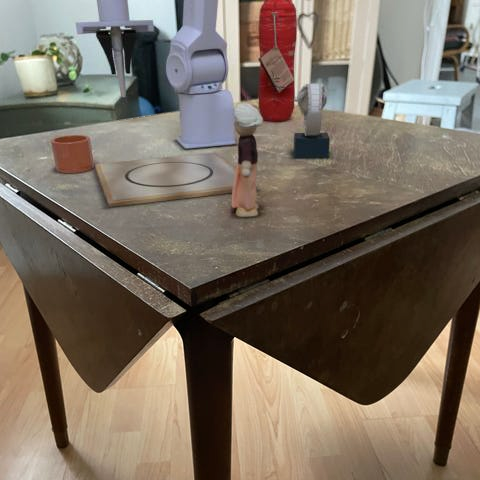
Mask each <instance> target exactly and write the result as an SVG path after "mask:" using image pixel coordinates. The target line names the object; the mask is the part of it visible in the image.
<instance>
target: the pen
mask: <svg viewBox="0 0 480 480" xmlns="http://www.w3.org/2000/svg"><path fill="white" fill-rule="evenodd" d="M121 29H122V27H110V28H109V30H110V33H109V34H110V37H111V39H112V50H113V58H114V63H115V69H116V75H117V80H118V81H117V82H118V87H119V92H120V96H121V98H126V97H127V88H126V87H127V86H126V76H125V74H126V72H125V60H124V49H123V34H122V33H123V32H122V30H121Z"/></svg>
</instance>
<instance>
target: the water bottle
mask: <svg viewBox="0 0 480 480" xmlns="http://www.w3.org/2000/svg"><path fill="white" fill-rule="evenodd" d="M296 8H297V7H296V6H295V4H294V2H293V0H264V1H263V3H262V5H261V7H260V9H259V15H258V46H259V49H258V50H259V57H258V58H257V60H258V62H259V80H258V111H259V113H260V115H261V117H262V118H263V121H267V122H275V123H276V122H277V123H278V122H285V121H288V120H290V119H291V118H292V115H293V113H294V109H295V97H296V90H295V89H296V88H295V55H296V47H297V46H296V44H297V38H298V37H297V32H298V30H297V29H298V19H297V9H296Z"/></svg>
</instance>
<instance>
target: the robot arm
mask: <svg viewBox="0 0 480 480" xmlns="http://www.w3.org/2000/svg"><path fill="white" fill-rule="evenodd" d="M96 6H97V12H98V14H97V15H98V21H81V22H80V21H79V22H78V21H76V22H75V26H76V27H75V28H76V33H77V35H84V34H85V35H89V34H95V37H96V39H97V41H98V43H99V44H100V46H101V49H102V50H103V53H104V54H105V57H106V60H107V63H108V66H109V68H110V73H111V75H112V76H113V75H117V70H116V65H115V60H114V52H113V49H112V39H111V37H110V29H107V28H111V27H120V28H121V30H122V34H123V56H124V73H125V74H126V75H127V74H129V75H130V74H131V65H132V58H133V52H134V48H135V45H136V42H137V38H138V33H140V32H141V33H143V32H155V28H154V27H155V26H154V19H140V20H139V19H138V20H131V19H130V11H129V9H130V8H129V1H128V0H96ZM218 7H219V0H183V10H182V26H181V27H180V29H179V30H178V31H177V32H176V33H175V35H173V37H172V38H171V40H170V48H169V49H170V50H169V54H168V55H167V57H166V63H165V74H166V77H167V80H168V82H169V83H170V86H171V87H172V88H173V89H174V93H177V94H178V95H177V96H178V97H177V98H178V107H179V108H178V109H179V124H180V136H176V137H175V140H176V141H177V143H179V145H180V146H181V147H183V148H184V149H187V150H189V149H199V148H208V147H210V148H211V147H219V146H221V147H222V146H230V145H236V144H237V141H236V139H235V138H236V137H235V127H234V123H235V118H234V110H235V105H234V97H233V95H232V93H231V91H230V90H229V89H223V84H224V83H225V82H226V81H227V78H228V74H229V61H228V57H227V56H228V55H227V47H228V43H227V41H226V40H225V39H224V38H223V37H222V36H221V34H219V33H218V31H217V20H218V19H217V18H218ZM122 27H124V28H122Z"/></svg>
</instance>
